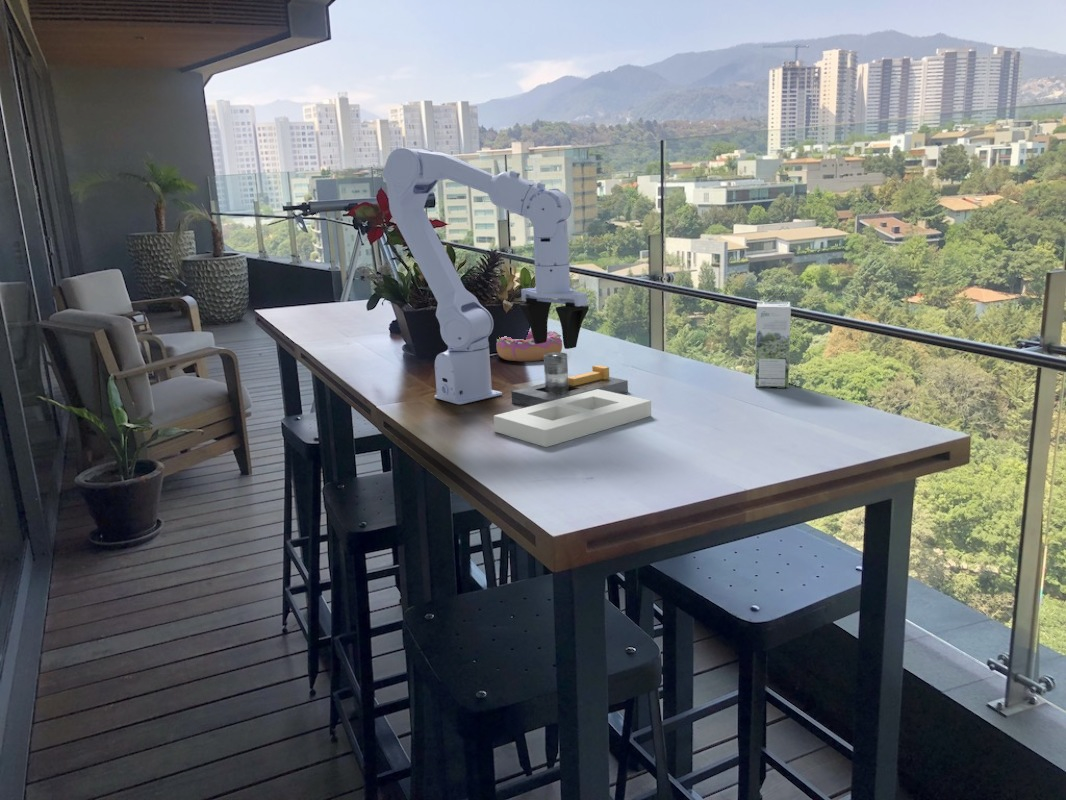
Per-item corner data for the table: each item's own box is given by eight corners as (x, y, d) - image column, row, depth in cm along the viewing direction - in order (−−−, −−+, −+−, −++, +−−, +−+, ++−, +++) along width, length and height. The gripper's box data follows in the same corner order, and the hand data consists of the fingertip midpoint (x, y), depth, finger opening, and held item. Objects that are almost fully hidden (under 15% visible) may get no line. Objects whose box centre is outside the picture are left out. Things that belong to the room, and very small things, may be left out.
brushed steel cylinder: (556, 404, 147) (554, 358, 145) (540, 400, 150) (538, 355, 148) (573, 400, 149) (572, 354, 147) (558, 396, 152) (556, 351, 150)
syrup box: (788, 381, 155) (790, 300, 152) (788, 389, 150) (791, 305, 146) (755, 380, 157) (757, 300, 153) (754, 388, 151) (756, 305, 148)
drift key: (576, 386, 150) (576, 375, 149) (564, 383, 152) (564, 372, 151) (609, 378, 154) (609, 367, 154) (597, 375, 157) (597, 365, 156)
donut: (521, 348, 198) (520, 326, 197) (575, 353, 190) (574, 330, 189) (483, 360, 187) (482, 337, 185) (538, 366, 179) (537, 342, 177)
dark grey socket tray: (550, 412, 142) (549, 400, 141) (511, 402, 149) (511, 391, 149) (627, 391, 153) (627, 380, 153) (588, 383, 161) (588, 372, 160)
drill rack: (545, 447, 123) (545, 430, 123) (494, 431, 132) (493, 415, 132) (651, 415, 137) (651, 400, 136) (598, 403, 146) (597, 389, 145)
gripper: (599, 263, 141) (602, 346, 144) (541, 260, 151) (545, 337, 155) (567, 268, 136) (570, 353, 140) (510, 264, 147) (514, 343, 150)
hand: (555, 345), depth 147 cm, fingers open, 7 cm apart
